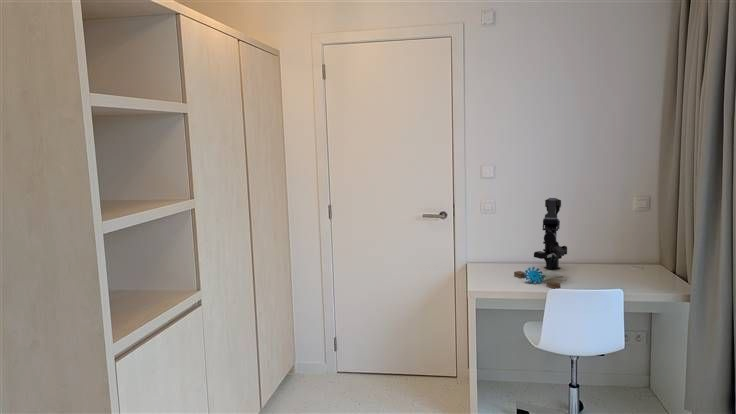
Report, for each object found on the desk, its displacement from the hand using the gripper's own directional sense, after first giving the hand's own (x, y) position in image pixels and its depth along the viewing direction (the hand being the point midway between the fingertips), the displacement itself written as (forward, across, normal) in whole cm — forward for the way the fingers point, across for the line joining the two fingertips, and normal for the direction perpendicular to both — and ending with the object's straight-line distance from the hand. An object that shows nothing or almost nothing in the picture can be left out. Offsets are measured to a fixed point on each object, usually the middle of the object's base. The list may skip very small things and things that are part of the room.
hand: (550, 268), depth 289 cm
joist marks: (+5, -10, 0) cm, 11 cm away
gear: (+6, -11, 0) cm, 12 cm away
